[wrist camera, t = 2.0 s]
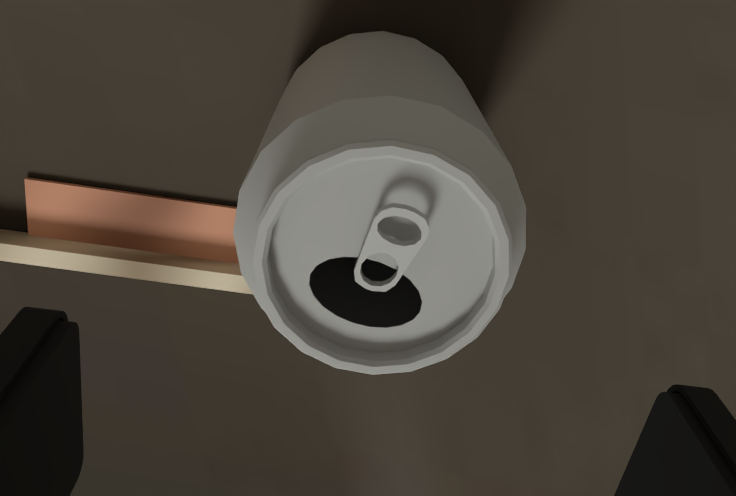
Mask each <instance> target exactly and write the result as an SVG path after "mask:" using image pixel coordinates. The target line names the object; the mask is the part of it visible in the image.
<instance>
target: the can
mask: <svg viewBox="0 0 736 496" xmlns="http://www.w3.org/2000/svg"><path fill="white" fill-rule="evenodd" d="M233 235H234V240H235V245H236V250H237V255H238V260H239V265H240V270H241V274H242V276H243V277H244V279H245V281H246V283H247V284H248V286H249V288H250V289H251V291H252V293H253V295H254V296H255V298H256V300H257V301H258V303H259V305H260V307H261V308H262V309H263V310H264V311H265V312H266V314H267V316H268V317H269V319H270V321H271V322H272V324H273V326H274V327H275V328H276V329H277V330H278V331H279V332H280V333H281V334H282V335H284V336H285V337H286V338H287V339H288V340H289V341H290V342H291V343H292V344H294V345H295V346H296V347H297V348H298V349H299V350H300V351H301V352H303V353H305V354H307V355H310V356H312V357H314V358H316V359H318V360H320V361H322V362H324V363H326V364H328V365H330V366H333V367H335V368H339V369H344V370H350V371H355V372H361V373H366V374H372V375H374V374H387V373H400V372H411V371H414V370H417V369H420V368H423V367H425V366H428V365H431V364H434V363H437V362H440V361H442V360H445V359H447V358H449V357H450V356H452V355H453V354H454V353H456V352H457V351H459V350H460V349H462V348H463V347H464V346H466V345H467V344H469V343H470V342H472V341H473V340H475V339H476V338H477V337H478V336H479V335H480V333H481V332H482V331H483V330H484V328H485V327H486V326H487V325H488V323H489V322H490V321H491V319H492V318H493V317H494V316H495V314H496V313H497V312H498V311H499V309H500V307H501V304H502V302H503V299H504V297H505V296H506V294H507V293H508V292H509V291H510V289H511V288H512V285H513V283H514V280H515V277H516V274H517V272H518V269H519V266H520V263H521V261H522V258H523V255H524V252H525V250H526V206H525V203H524V200H523V197H522V195H521V192H520V189H519V186H518V183H517V181H516V178H515V175H514V172H513V169H512V167H511V165H510V163H509V161H508V160H507V158H506V156H505V154H504V152H503V151H502V149H501V147H500V145H499V144H498V142H497V140H496V138H495V137H494V135H493V133H492V131H491V130H490V128H489V126H488V124H487V123H486V121H485V119H484V117H483V115H482V114H481V112H480V110H479V108H478V107H477V105H476V103H475V101H474V100H473V98H472V96H471V94H470V93H469V91H468V89H467V87H466V86H465V84H464V82H463V80H462V79H461V78H460V77H459V75H458V74H457V73H456V72H455V70H454V69H453V68H452V67H451V65H450V64H449V63H448V62H447V61H446V59H445V58H444V57H443V56H442V55H441V54H439V53H438V52H436V51H434V50H433V49H431V48H429V47H428V46H426V45H425V44H423V43H421V42H420V41H418V40H417V39H415V38H411V37H407V36H402V35H398V34H394V33H390V32H385V31H377V32H366V33H356V34H349V35H347V36H345V37H342V38H340V39H338V40H336V41H333V42H331V43H329V44H327V45H324V46H322V47H320V48H319V49H318V50H317V51H316V52H315V53H313V54H312V55H311V56H310V57H309V58H308V59H307V60H306V61H305V62H304V63H303V64H302V65H301V66H299V67H298V68H297V69H296V71H295V73H294V75H293V76H292V78H291V80H290V82H289V84H288V86H287V87H286V89H285V91H284V93H283V95H282V97H281V99H280V101H279V103H278V106H277V108H276V110H275V112H274V114H273V117H272V119H271V121H270V123H269V126H268V128H267V130H266V132H265V135H264V137H263V139H262V141H261V144H260V146H259V148H258V150H257V152H256V155H255V157H254V159H253V161H252V164H251V166H250V168H249V170H248V173H247V175H246V177H245V179H244V182H243V184H242V186H241V188H240V190H239V197H238V203H237V210H236V216H235V223H234V230H233Z"/></svg>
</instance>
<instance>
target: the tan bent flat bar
mask: <svg viewBox="0 0 736 496" xmlns="http://www.w3.org/2000/svg"><path fill="white" fill-rule="evenodd" d="M25 194H26V209H27V224H28V233H27V232H19V231H12V230H5V229H0V261H7V262H14V263H22V264H29V265H37V266H44V267H52V268H59V269H67V270H75V271H82V272H90V273H97V274H105V275H112V276H120V277H127V278H135V279H142V280H150V281H157V282H165V283H172V284H180V285H187V286H195V287H202V288H210V289H217V290H225V291H232V292H240V293H247V294H253V293H252V291H251V289H250V288H249V286H248V284H247V283H246V281H245V279H244V277H243V276H242V274H241V270H240V265H239V260H238V255H237V250H236V245H235V240H234V235H233V230H234V223H235V216H236V210H237V207H233V206H226V205H219V204H212V203H205V202H198V201H191V200H184V199H177V198H170V197H163V196H156V195H148V194H141V193H134V192H127V191H120V190H113V189H106V188H99V187H92V186H85V185H78V184H71V183H64V182H57V181H50V180H43V179H36V178H29V177H26V178H25Z"/></svg>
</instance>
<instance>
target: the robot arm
mask: <svg viewBox="0 0 736 496" xmlns="http://www.w3.org/2000/svg"><path fill="white" fill-rule="evenodd" d="M82 463H83V426H82V399H81V371H80V343H79V327H78V324H77V323H76V322H70V321H68V318H67V315H66V313H65V312H64V311H58V310H49V309H41V308H32V307H24V308H23V309H22V310H20V311H19V313H18V314H17V315H16V316H15V318H14V319H13V320H12V321H11V322H10V324H9V325H8V326H7V327H6V329H5V330H4V331H3V332H2V334H1V335H0V496H70V494H71V492H72V490H73V488H74V486H75V483H76V481H77V479H78V477H79V474H80V471H81V467H82ZM614 496H736V420H735V419H734V417H733V416H732V415H731V413H730V412H729V411H728V409H727V408H726V406H725V405H724V404H723V402H722V401H721V400H720V398H719V397H718V396H717V394H716V393H715V392H714V391H713V390H711V389H708V388H702V387H694V386H686V385H672V386H671V387H670V388H669V389H668V390H667V392H661V393H660V394H659V395H658V396H657V398H656V400H655V402H654V405H653V407H652V409H651V412H650V414H649V416H648V419H647V421H646V423H645V425H644V428H643V430H642V432H641V435H640V437H639V439H638V442H637V444H636V446H635V449H634V451H633V453H632V456H631V458H630V460H629V463H628V465H627V467H626V470H625V472H624V474H623V476H622V479H621V481H620V483H619V486H618V488H617V490H616V493H615V495H614Z"/></svg>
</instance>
